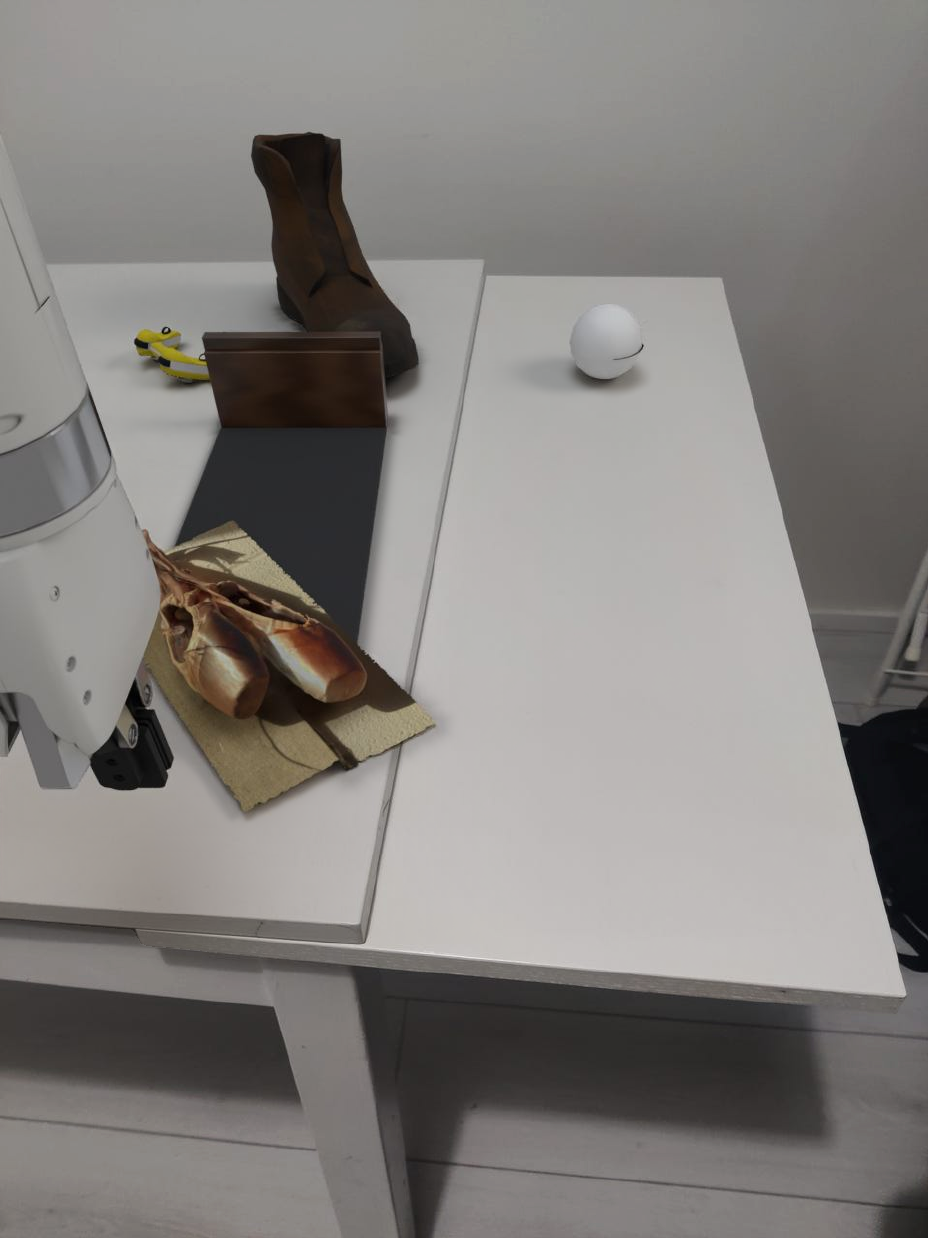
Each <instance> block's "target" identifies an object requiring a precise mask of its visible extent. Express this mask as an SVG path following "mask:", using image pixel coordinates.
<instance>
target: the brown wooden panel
mask: <svg viewBox="0 0 928 1238" xmlns="http://www.w3.org/2000/svg"><path fill="white" fill-rule="evenodd" d="M201 341H202V344H203V350H204V351H203V354H204V355H203V356H204V359H205V360H206V364H207V368H208V373H209V377H210V386H211V389H212V394H213V398H214V401H215V402H214V403H215V407H216V412H217V415H218V419H219V424H220V428H386V429H387V427H388V421H389V413H388V412H389V411H388V400H387V399H388V398H387V390H386V388H387V387H386V378H385V373H384V361H383V348H382V342H381V332H380V331H376V332H308V331H205V332H204V333H203V335H202V337H201Z"/></svg>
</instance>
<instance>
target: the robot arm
mask: <svg viewBox="0 0 928 1238" xmlns="http://www.w3.org/2000/svg"><path fill="white" fill-rule="evenodd" d="M53 283H54V282H53V281H52V277H51V275H50V271H49V268H48V266H47V263H46V260H45V258H44V255H43V252H42V249H41V246H40V243H39V241H38V238H37V235H36V232H35V229H34V225H33V223H32V220H31V217H30V215H29V212H28V209H27V206H26V203H25V200H24V196H23V194H22V191H21V188H20V186H19V183H18V180H17V177H16V174H15V171H14V168H13V166H12V163H11V159H10V157H9V153H8V151H7V148H6V145H5V143H4V139H3V136H2V133H1V132H0V758H8V757H9V754H10V753H11V751H12V749H13V747H14V744H15V743H16V740H17V738H18V736H19V734H20V732H21V735H22V737H23V740H24V744H25V747H26V750H27V753H28V755H29V758H30V762H31V765H32V767H33V770H34V771H33V772H34V774H35V777H36V780H37V783H38V785H39V787H40V789H42V790H75V789H76V788H77V787H78V786H79V784H80V782H81V781H82V779H83V778H84V776H85V774H86V773H87V771H88V769H89V768H91V770H92V773H93V775H94V776H95V778H96V780H97V782H98V784H99V785H100V786H101V787H103V788H106V789H112V790H115V791H120V792H121V791H122V792H123V791H136V790H138V789H163V788H164V787H166V785H167V782H168V779H169V773H168V770H170V769H172V766H173V764H174V763H173V762H174V759H175V756H174V754H173V751H172V748H171V747H170V745H169V742H168V739H167V737H166V734H165V732H164V730H163V727H162V725H161V722H160V720H159V717H158V714H157V712H156V710H155V708H154V709H153V708H149V707H150V706H151V705H152V701H153V696H154V695H153V694H154V691H153V685H152V682H151V678H150V674H149V672H148V671H149V670H148V668H147V664H145V661H144V652H145V649H146V647H147V644H148V641H149V638H150V636H151V633H152V630H153V627H154V624H155V621H156V618H157V615H158V611H159V606H160V597H161V593H160V586H159V582H158V578H157V574H156V570H155V567H154V564H153V560H152V557H151V554H150V552H149V549H148V546H147V543H146V540H145V538H144V535H143V532H142V530H143V529H142V528H141V525H140V522H139V520H138V518H137V516H136V512H135V510H134V508H133V506H132V504H131V501H130V498H129V497H128V494H127V491H126V490H125V488H124V486H123V483H122V481H121V479H120V477H119V475H118V473H117V472H118V471H117V463H116V459H115V457H114V454H113V452H112V449H111V446H110V444H109V441H108V437H107V434H106V432H105V429H104V426H103V423H102V421H101V418H100V414H99V412H98V409H97V406H96V403H95V400H94V398H93V395H92V392H91V389H90V386H89V383H88V381H87V379H86V375H85V373H84V370H83V367H82V364H81V361H80V359H79V355H78V352H77V350H76V349H77V348H76V347H75V344H74V341H73V338H72V336H71V332H70V330H69V326H68V323H67V321H66V318H65V315H64V312H63V310H62V307H61V304H60V301H59V298H58V295H57V293H56V289H55V286H54V284H53Z"/></svg>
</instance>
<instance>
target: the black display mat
mask: <svg viewBox="0 0 928 1238" xmlns="http://www.w3.org/2000/svg"><path fill="white" fill-rule="evenodd" d="M386 436H387V428H221V427H220V428H219V431H218V434H217V436H216V438H215V441H214V444H213V446H212V449H211V452H210V454H209V456H208V459H207V461H206V464H205V467H204V469H203V472H202V475H201V477H200V480H199V482H198V485H197V487H196V489H195V492H194V495H193V498H192V500H191V503H190V505H189V508H188V510H187V513H186V516H185V518H184V521H183V524H182V526H181V529H180V531H179V534H178V537H177V539H176V541H175V544H174V547H175V546H180V544H182V543H185V542H187V541H191V540H192V539H193V538H194V537H196V536H198V535H200V534H203V533H206V532H208V531H209V530H212V529H214V528H217V527H220V526H222V525H223V524H225V523H227V522H229V521H234V522H235V523H236V524H238V527H239V528H241V530H244V532H245V533H246V534H247V536H250V537H251V539H252V540H254V541H255V542H256V543H257V545H259V547H260V548H262V549H263V551H264V552H265V553H267V557H268V556H270V558H271V559H272V560H274V562H276V565H277V564H278V565H279V567H281V568H282V569H283V571H285V574H288V576H290V579H292V580H294V581H295V582H296V584H297V585H298V586H300V588H302V590H303V591H302V592H304V593H305V592H306V593H307V595H309V596H310V598H313V599H314V601H315V602H313V604H315V603H316V604H317V606H318V605H319V606H321V607H322V609H324V611H325V612H326V613H327V614H328V615H329V616H330V617H331V618H332V620H333V621H334V623H337V624H338V625H337V626H339V625H340V628H341V629H344V631H345V632H346V633H347V634H349V636H351V639H353V640H354V641H355V642H357V643H356V644H358V640H359V632H360V626H361V625H360V624H361V617H362V611H363V603H364V595H365V590H366V589H365V587H366V581H367V574H368V567H369V559H370V552H371V545H372V539H373V538H372V537H373V531H374V523H375V516H376V509H377V500H378V494H379V486H380V479H381V473H382V465H383V458H384V452H385V451H384V450H385V444H386V438H387V437H386Z"/></svg>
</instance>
